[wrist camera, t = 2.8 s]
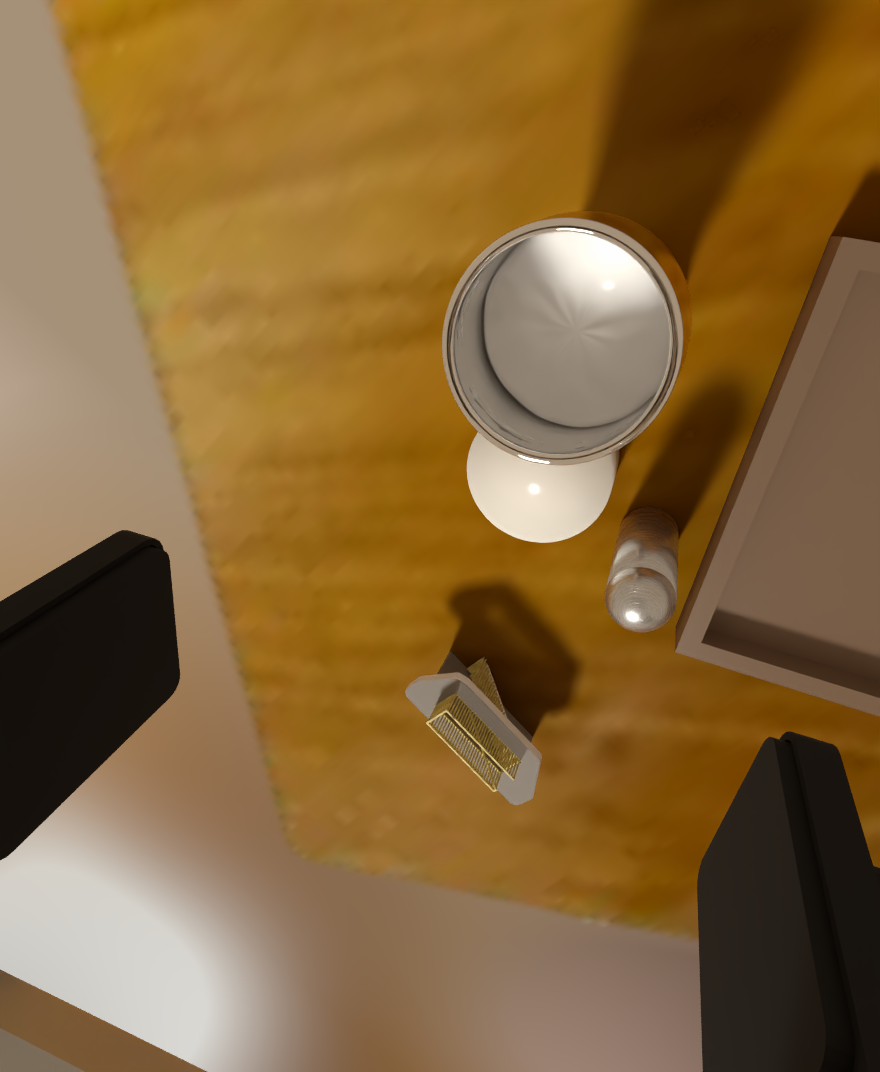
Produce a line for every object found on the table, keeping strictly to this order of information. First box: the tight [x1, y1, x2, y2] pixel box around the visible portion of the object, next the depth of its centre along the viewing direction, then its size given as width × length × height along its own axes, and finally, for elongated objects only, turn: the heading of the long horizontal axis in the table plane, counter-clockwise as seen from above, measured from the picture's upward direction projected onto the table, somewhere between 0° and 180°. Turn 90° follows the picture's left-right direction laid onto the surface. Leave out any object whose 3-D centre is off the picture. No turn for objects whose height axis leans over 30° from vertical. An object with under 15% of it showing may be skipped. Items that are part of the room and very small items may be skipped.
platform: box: [405, 652, 542, 805], centre depth 40 cm, size 12×18×7 cm, turn 46°
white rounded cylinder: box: [467, 432, 620, 543], centre depth 33 cm, size 7×7×4 cm
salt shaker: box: [605, 507, 679, 632], centre depth 31 cm, size 3×3×8 cm
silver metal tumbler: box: [442, 211, 692, 465], centre depth 24 cm, size 7×7×15 cm
